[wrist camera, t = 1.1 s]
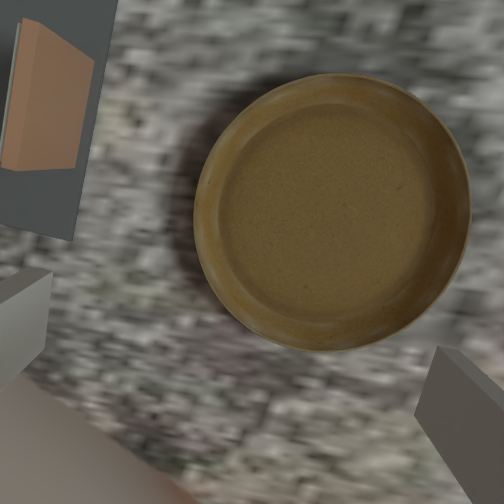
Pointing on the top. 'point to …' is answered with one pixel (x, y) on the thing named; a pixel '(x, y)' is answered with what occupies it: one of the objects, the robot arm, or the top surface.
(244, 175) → the plant saucer
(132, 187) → the top surface
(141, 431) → the top surface
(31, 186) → the mat
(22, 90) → the tile
